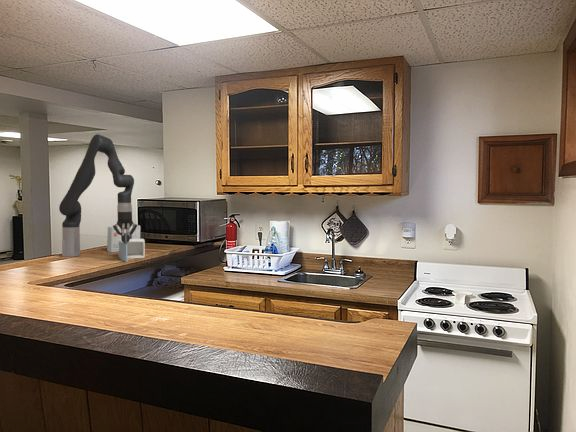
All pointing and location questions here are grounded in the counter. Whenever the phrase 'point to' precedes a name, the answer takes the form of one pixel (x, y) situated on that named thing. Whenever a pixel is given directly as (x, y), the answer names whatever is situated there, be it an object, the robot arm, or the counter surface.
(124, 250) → the front flap
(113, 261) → the counter surface
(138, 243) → the carton
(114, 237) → the skincare box
